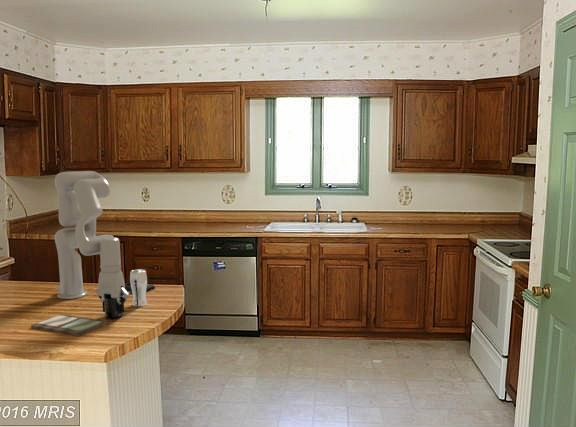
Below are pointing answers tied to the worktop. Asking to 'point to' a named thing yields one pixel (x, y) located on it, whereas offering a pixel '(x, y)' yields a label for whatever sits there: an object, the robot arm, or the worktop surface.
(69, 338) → the worktop surface
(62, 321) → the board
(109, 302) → the supplement container
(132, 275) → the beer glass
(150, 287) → the door handle
